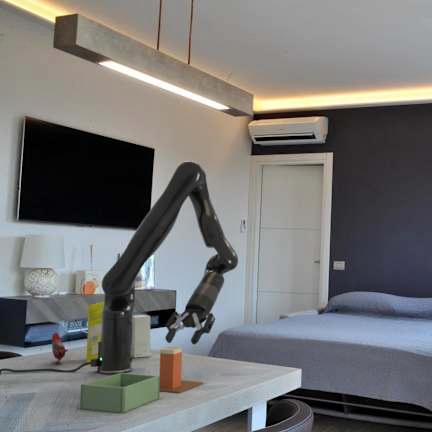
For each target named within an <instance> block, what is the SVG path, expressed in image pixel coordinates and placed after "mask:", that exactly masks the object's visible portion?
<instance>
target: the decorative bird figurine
mask: <svg viewBox="0 0 432 432" xmlns="http://www.w3.org/2000/svg"><path fill="white" fill-rule="evenodd" d="M51 349H52V350H51V351H52V355H53V356H54V358H55V359H56V360H55V362H56V364H59V365H60V364H61V362H60V361H61V360H63V358H64V357H65V356H66V352H68V350H69V349H67V348H66V347H65V345H64V344H63V342H62V340H61V336H60V335H59V333H58V332H54V333H53V334H52V337H51Z"/></svg>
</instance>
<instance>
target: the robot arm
mask: <svg viewBox="0 0 432 432" xmlns="http://www.w3.org/2000/svg"><path fill="white" fill-rule="evenodd" d="M187 199H190V202H191V204H192V207H193V210H194V214H195V218H196V222H197V226H198V229H199V233H200V236H201V238H202V241H203V243H204V245H205V247H206V248H207V249H214V250H215V251H216V254H215V255H212V256H211V257H210V258H209V259H208V261H207V262H206V265H205V268H204V272H203V277H202V278H201V280H200V281H199V283H198V285H197V286H196V288H195V289H194V290H193V292H192V293H191V296H190V297H189V299H188V301H187V303H186V304H185V308H184V311H183V312H182V313H179V312H178V311H177V310H176V311H173V313H172V314H171V316H169V319H168V321H167V322H166V324H165V328H166V329H167V331H168V332H167V333H166V335H165V341H166V343H168V344H171V343H172V342H173V340H174V338H175V336H176V333H177V332H179V331H182V330H184V329H187V328H192V329H195V328H196V330H195V331H194V332H193V335H192V337H191V339H190V342H191V344H192V345H197V343H199V341H200V339H201V337H202V336H203V335H204V334H206V335H207V334H210V333H211V330H212V328H213V326H214V324H215V321H216V317H215V316H214V314H213V313H212V312H211V311H212V310H213V307H214V306H215V304H216V302H217V299H218V297H219V295H220V292H221V291H222V288H223V287H224V284H225V277H224V274H226V273H229V272H231V271H233V270H235V269H236V268H237V266H238V264H239V258H238V254H237V252H236V250H235V249H234V248H233V246H232V245H231V243H230V242H229V241H228V239H227V238H226V236H225V233H224V230H223V227H222V225H221V223H220V219H219V218H218V215H217V213H216V210H215V208H214V205H213V203H212V199H211V196H210V192H209V188H208V183H207V174H206V172H205V170H204V169H203V167H202V166H201V164H199V163H197V162H196V161H193V160H186V161H183V162H182V163H180V164H179V165H178V166H177V167H176V169H175V171H174V173H173V174H172V176H171V178H170V180H169V182H168V184H167V186H166V188H165V189H164V191H163V192H162V193H161V195H160V196H159V198H158V199H157V200H156V201H155V203H154V204H153V205H152V207H151V208H150V210H149V211H148V213H147V214H146V215H145V217H144V218H143V219H142V221H141V223H140V224H139V225H138V227H137V229H136V231H135V232H134V234H133V235H132V237H131V238H130V240H129V242H128V244H127V246H126V248H125V249H124V252H122V254H121V256H120V257H119V258H118V259H117V260H116V262H115V263H114V264H113V265H112V266H111V268H110V269H109V270H108V271H107V272H106V273H105V274H104V276H103V278H102V280H101V289H102V291H103V293H104V299H103V302H104V306H103V310H102V330H101V341H100V342H99V343H98V358H94V359H91V362H88V363H86V362H85V363H83V364H81V365H79V366H78V367H76V368H74V369H57V368H32V369H12V368H1V369H0V373H1V372H4V371H5V372H11V373H32V372H58V373H74V372H77V371H79V370H80V369H82V368H84V367H87V366H88V365H90V367H92V368H96V371H97V372H98V373H101V374H108V375H110V374H111V375H112V374H113V375H115V374H118V373H129V372H130V371H132V362H133V356H132V355H131V353H132V322H133V316H134V308H135V297H136V296H135V295H136V294H135V293H136V278H137V277H138V275H139V273H140V271H141V269H142V268H143V266H144V265H145V264H146V262H147V261H148V260H149V259H150V258H151V257H152V256H153V255H154V254H155V253H156V251H157V250H158V249H159V248H160V247H161V246H162V244H163V243H164V242H165V241H166V238H167V237H168V236H169V234H170V233H171V231H172V229H173V228H174V226H175V224H176V222H177V219H178V217H179V214H180V211H181V209H182V207H183V205H184V203H185V202H186V200H187ZM181 323H182V324H181ZM203 323H204V324H203Z"/></svg>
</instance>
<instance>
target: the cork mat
mask: <svg viewBox="0 0 432 432" xmlns="http://www.w3.org/2000/svg"><path fill="white" fill-rule="evenodd" d="M203 384H204V382H203V381H193V380H182V379H181V386H179V387H176V388H173V389H169V388H160V391H159V392H165V393H175V394H176V393H177V394H181V393H183V392H186V391H188V390H190V389H193V388H196V387H198V386H201V385H203Z"/></svg>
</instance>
